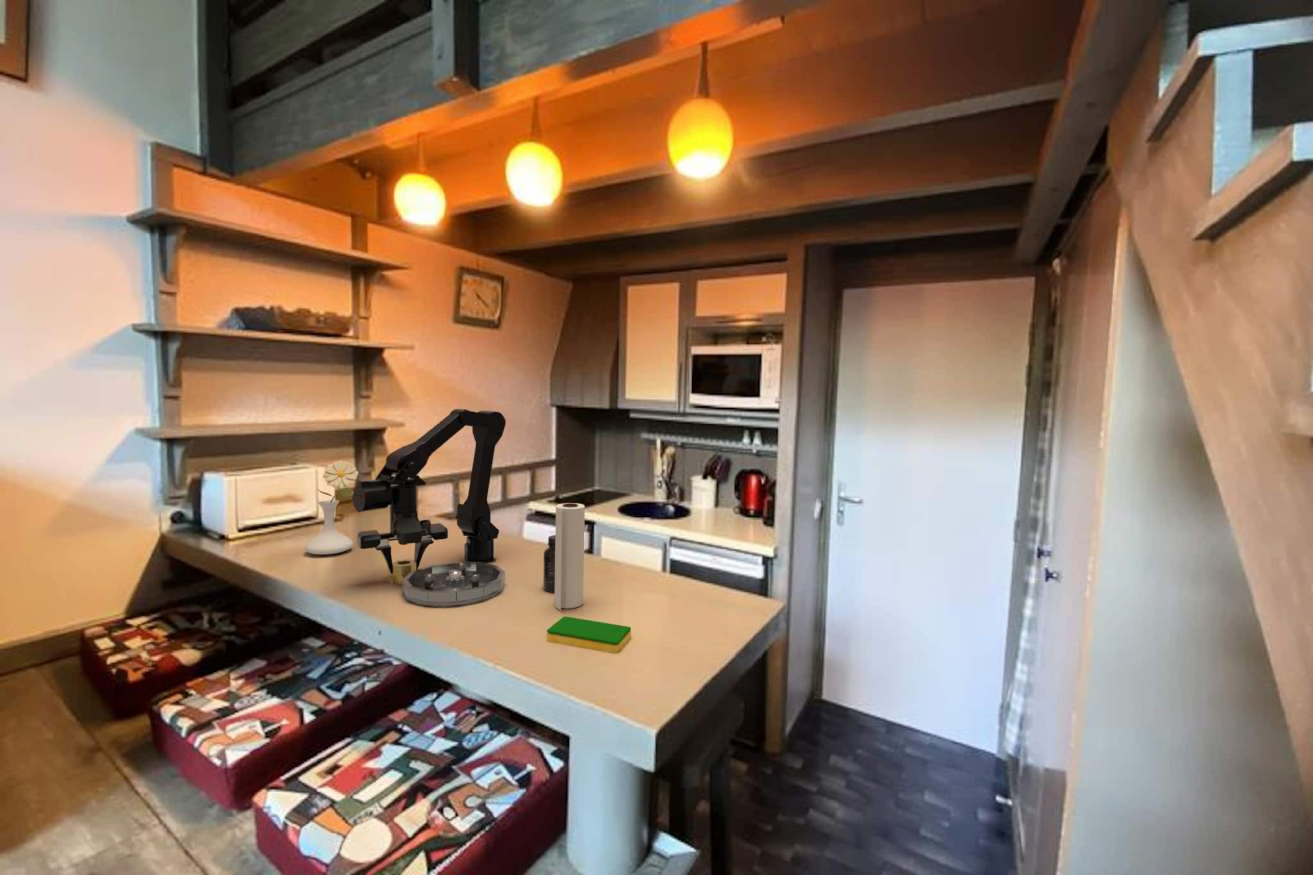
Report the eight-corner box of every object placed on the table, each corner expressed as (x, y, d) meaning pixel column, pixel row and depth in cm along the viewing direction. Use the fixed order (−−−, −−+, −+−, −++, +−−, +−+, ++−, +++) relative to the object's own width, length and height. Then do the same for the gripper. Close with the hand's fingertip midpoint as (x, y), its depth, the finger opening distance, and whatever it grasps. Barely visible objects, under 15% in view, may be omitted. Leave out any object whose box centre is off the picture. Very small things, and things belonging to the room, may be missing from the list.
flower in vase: (297, 558, 145) (295, 462, 143) (314, 546, 156) (313, 457, 154) (352, 557, 147) (351, 463, 145) (365, 545, 158) (364, 457, 156)
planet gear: (414, 573, 136) (414, 557, 135) (421, 580, 131) (421, 564, 130) (386, 577, 132) (386, 561, 132) (392, 585, 127) (392, 568, 127)
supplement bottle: (579, 588, 129) (580, 537, 128) (555, 595, 124) (556, 542, 123) (561, 581, 133) (561, 531, 132) (537, 587, 128) (537, 536, 127)
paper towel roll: (571, 596, 123) (573, 501, 122) (588, 604, 119) (590, 505, 117) (543, 604, 118) (545, 504, 117) (560, 613, 114) (562, 509, 112)
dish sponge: (616, 655, 97) (617, 642, 97) (545, 642, 101) (545, 629, 101) (631, 639, 104) (631, 626, 104) (564, 627, 108) (564, 615, 108)
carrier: (485, 569, 140) (485, 552, 140) (517, 595, 123) (518, 575, 123) (394, 584, 128) (394, 565, 127) (416, 615, 111) (416, 593, 111)
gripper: (364, 516, 118) (365, 588, 119) (454, 508, 129) (454, 574, 130) (356, 507, 127) (357, 574, 128) (441, 500, 138) (441, 562, 139)
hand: (403, 571), depth 131 cm, fingers closed on planet gear, 5 cm apart
